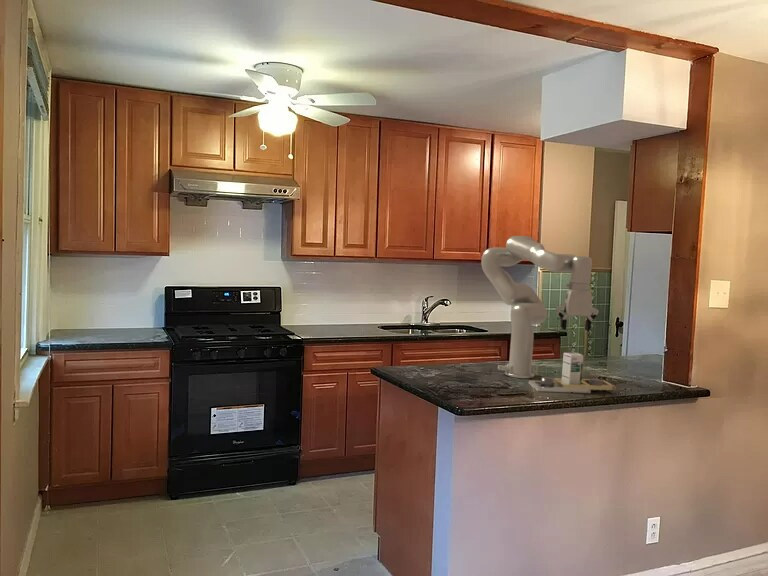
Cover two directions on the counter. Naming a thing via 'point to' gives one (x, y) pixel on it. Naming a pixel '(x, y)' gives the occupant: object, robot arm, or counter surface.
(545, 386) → the steel end link
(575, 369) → the syrup box
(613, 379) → the counter surface
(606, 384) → the brass end link
